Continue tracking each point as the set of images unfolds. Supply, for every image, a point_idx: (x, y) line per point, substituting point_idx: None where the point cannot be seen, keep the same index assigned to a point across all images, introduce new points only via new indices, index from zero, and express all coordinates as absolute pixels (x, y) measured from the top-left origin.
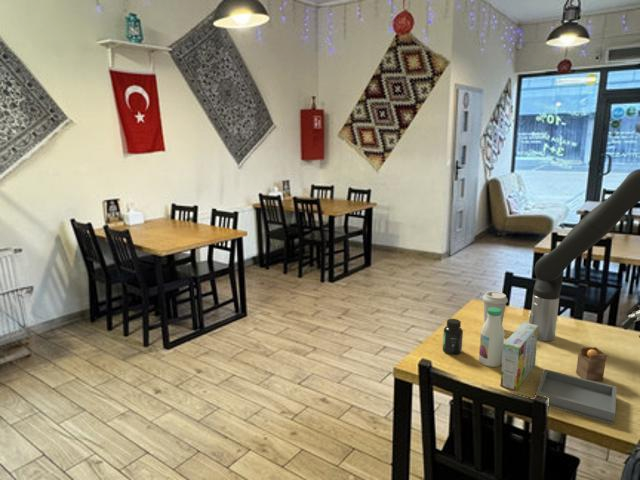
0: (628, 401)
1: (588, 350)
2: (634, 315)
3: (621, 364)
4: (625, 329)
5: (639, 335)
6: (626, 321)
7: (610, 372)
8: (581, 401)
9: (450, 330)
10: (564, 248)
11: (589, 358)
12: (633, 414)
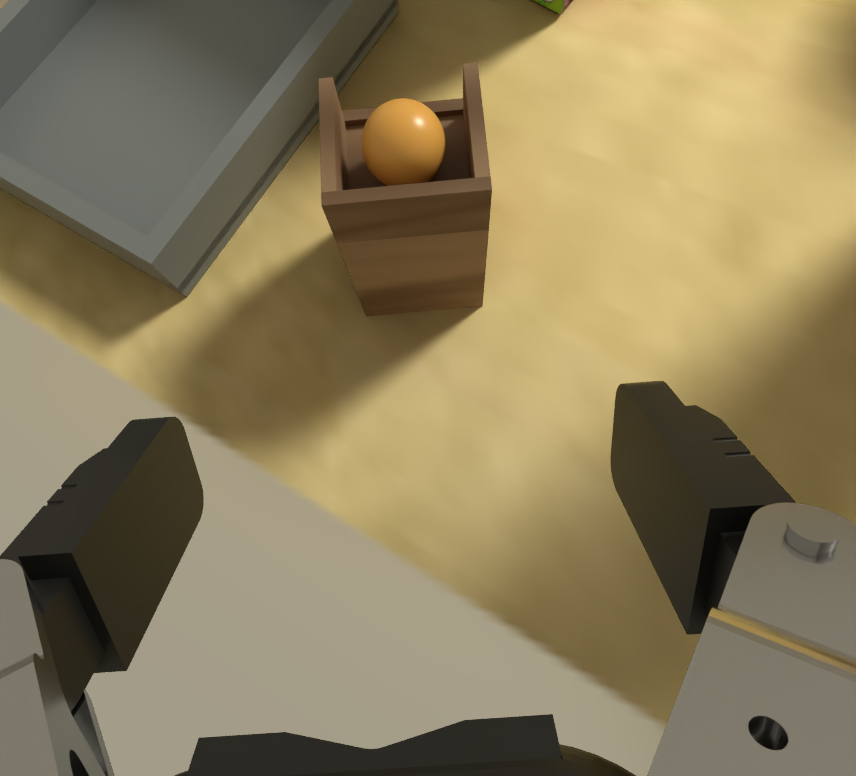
0: (136, 350)
1: (420, 102)
2: (744, 607)
3: (634, 595)
4: (614, 466)
5: (165, 419)
6: (672, 440)
7: (493, 433)
8: (127, 81)
9: None
10: None
11: (339, 104)
12: (16, 305)
